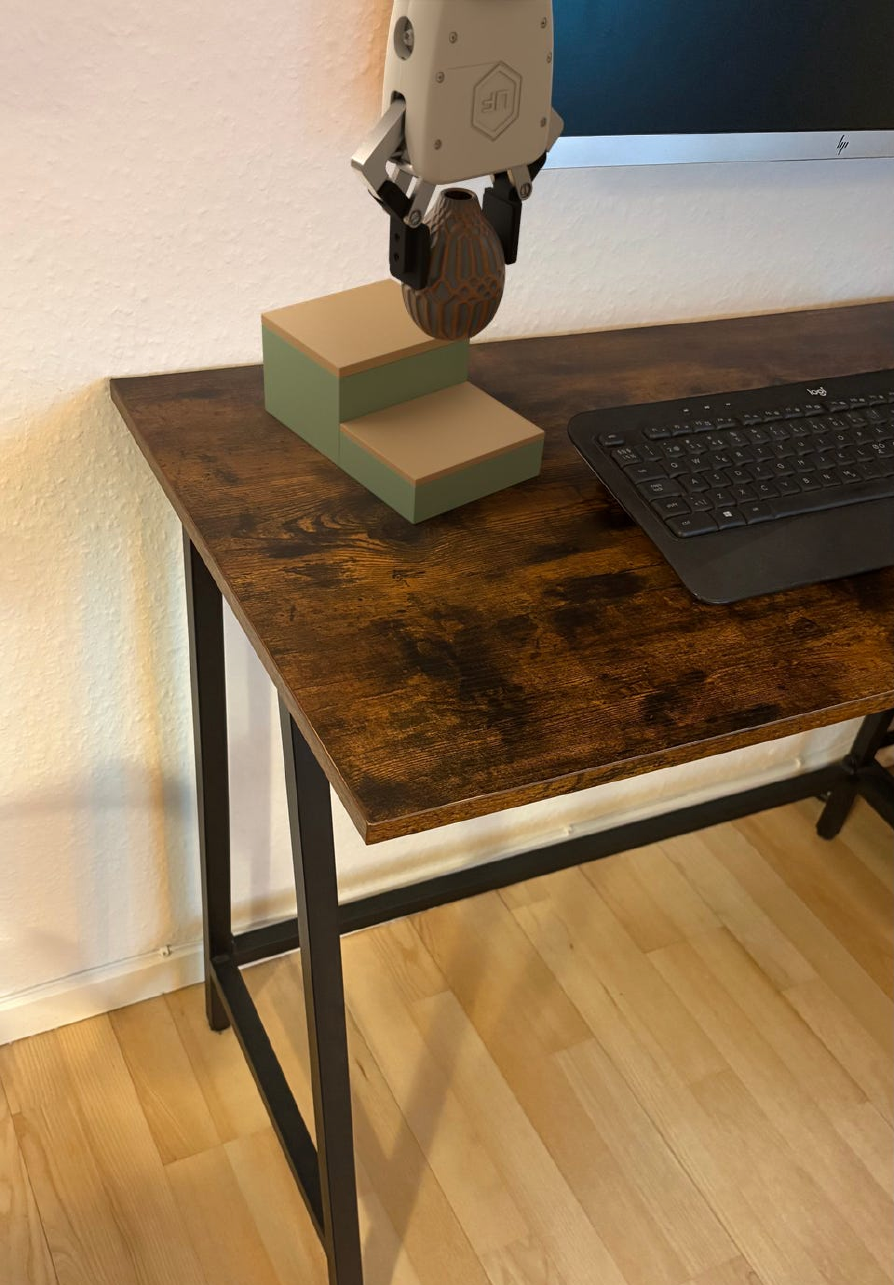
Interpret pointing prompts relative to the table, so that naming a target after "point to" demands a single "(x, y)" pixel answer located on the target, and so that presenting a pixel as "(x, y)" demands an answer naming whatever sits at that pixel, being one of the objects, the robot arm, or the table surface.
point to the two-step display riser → (392, 402)
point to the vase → (458, 270)
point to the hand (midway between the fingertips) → (453, 267)
